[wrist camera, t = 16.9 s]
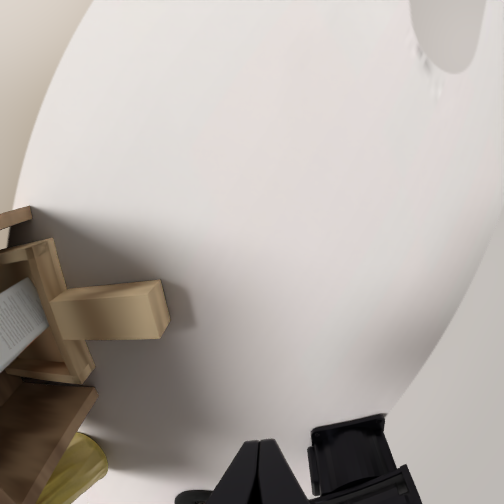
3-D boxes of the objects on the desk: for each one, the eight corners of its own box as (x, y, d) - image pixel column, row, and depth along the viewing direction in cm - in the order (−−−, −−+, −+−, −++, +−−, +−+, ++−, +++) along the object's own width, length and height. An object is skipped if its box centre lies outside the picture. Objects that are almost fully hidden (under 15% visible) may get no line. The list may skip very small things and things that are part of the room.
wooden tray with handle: (147, 219, 19) (130, 227, 17) (184, 367, 22) (175, 388, 20) (-18, 253, 21) (-37, 262, 18) (21, 360, 24) (6, 373, 21)
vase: (54, 430, 25) (-30, 474, 11) (97, 431, 26) (13, 488, 11) (73, 477, 24) (3, 533, 10) (117, 479, 25) (51, 551, 10)
